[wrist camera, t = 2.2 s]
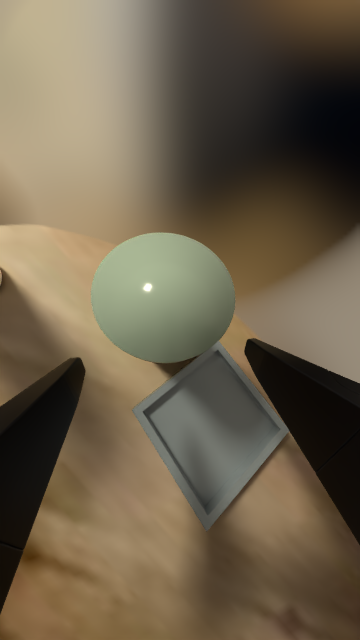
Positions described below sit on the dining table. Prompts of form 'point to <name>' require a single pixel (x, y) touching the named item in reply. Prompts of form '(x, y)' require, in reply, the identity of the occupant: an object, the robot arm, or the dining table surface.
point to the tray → (210, 430)
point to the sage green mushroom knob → (163, 297)
